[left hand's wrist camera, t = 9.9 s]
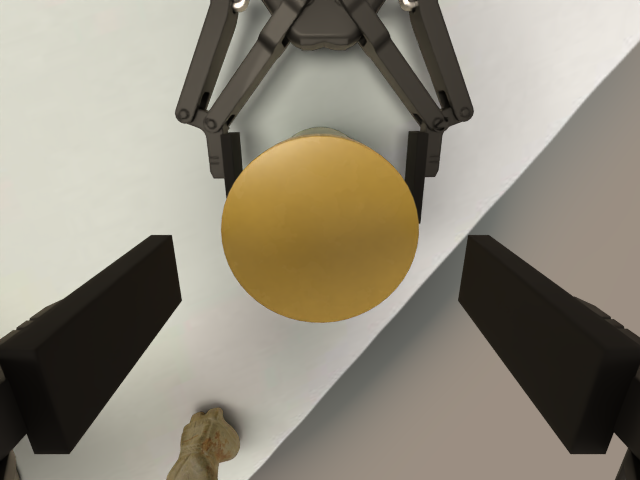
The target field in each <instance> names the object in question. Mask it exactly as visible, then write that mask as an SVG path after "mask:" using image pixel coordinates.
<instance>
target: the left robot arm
mask: <svg viewBox="0 0 640 480" xmlns="http://www.w3.org/2000/svg"><path fill="white" fill-rule="evenodd" d="M181 301H182V298H181V292H180V285H179V279H178V272H177V266H176V259H175V253H174V246H173V240H172V235H151V236H149V237H148V238H146V239H145V240H144V241H142V242H141V243H140V244H138V245H137V246H135V247H134V248H133V249H131V250H130V251H129V252H127V253H126V254H124V255H123V256H122V257H120V258H119V259H118V260H116V261H115V262H114V263H112V264H111V265H109V266H108V267H107V268H105V269H104V270H103V271H101V272H100V273H98V274H97V275H96V276H94V277H93V278H92V279H90V280H89V281H87V282H86V283H85V284H83V285H82V286H81V287H79V288H78V289H76V290H75V291H74V292H72V293H71V294H70V295H68V296H67V297H65V298H64V299H62V300H60V301H58V302H56V303H54V304H51V305H49V306H47V307H45V308H44V309H42V310H41V311H39V312H38V313H37V314H35V315H34V316H32V317H31V318H30V320H29V321H25V322H24V323H23V324H21V325H20V326H18V327H17V329H16V330H13V331H11V332H10V333H8V334H7V335H6V336H4V337H3V338H1V339H0V480H19V475H18V472H17V470H16V466H17V463H16V457H15V454H14V452H13V448H14V447H15V446H16V445H17V444H18V443H19V441H20V440H21V439H22V438H23V437H24V436H25V435H26V434H27V436H28V438H29V441H30V444H31V446H32V449H33V451H34V454H70V453H71V451H72V450H73V449H74V447H75V446H76V444H77V443H78V442H79V440H80V439H81V438H82V436H83V435H84V434H85V432H86V431H87V429H88V428H89V427H90V425H91V424H92V423H93V421H94V420H95V419H96V417H97V416H98V414H99V413H100V412H101V410H102V409H103V408H104V406H105V405H106V404H107V402H108V401H109V399H110V398H111V397H112V395H113V394H114V393H115V391H116V390H117V389H118V387H119V386H120V384H121V383H122V382H123V380H124V379H125V378H126V376H127V375H128V373H129V372H130V371H131V369H132V368H133V367H134V365H135V364H136V363H137V361H138V360H139V358H140V357H141V356H142V354H143V353H144V352H145V350H146V349H147V348H148V346H149V345H150V343H151V342H152V341H153V339H154V338H155V337H156V335H157V334H158V333H159V331H160V330H161V328H162V327H163V326H164V324H165V323H166V322H167V320H168V319H169V318H170V316H171V315H172V313H173V312H174V311H175V309H176V308H177V307H178V305H179V304H180V303H181ZM458 301H459V302H460V304H461V305H462V307H463V308H464V309H465V311H466V312H467V313H468V315H469V316H470V318H471V319H472V320H473V322H474V323H475V324H476V326H477V327H478V328H479V330H480V331H481V333H482V334H483V335H484V337H485V338H486V339H487V341H488V342H489V343H490V345H491V346H492V347H493V349H494V350H495V352H496V353H497V354H498V356H499V357H500V358H501V360H502V361H503V363H504V364H505V365H506V367H507V368H508V369H509V371H510V372H511V373H512V375H513V376H514V378H515V379H516V380H517V382H518V383H519V384H520V386H521V387H522V389H523V390H524V391H525V393H526V394H527V395H528V397H529V398H530V399H531V401H532V402H533V404H534V405H535V406H536V408H537V409H538V410H539V412H540V413H541V414H542V416H543V417H544V419H545V420H546V421H547V423H548V424H549V425H550V427H551V428H552V429H553V431H554V432H555V433H556V435H557V436H558V438H559V439H560V440H561V442H562V443H563V444H564V446H565V447H566V449H567V450H568V451H569V453H570V454H606V451H607V449H608V446H609V443H610V441H611V438H612V436H613V433H615V434H616V435H617V436H618V437H619V438H620V439H621V440H622V442H623V443H624V444H625V445H626V446H627V447H628V450H627V452H626V454H625V457H624V459H623V462H622V464H621V467H620V469H619V471H618V474H617V476H616V479H615V480H640V337H638V336H637V335H636V334H634V333H633V332H631V331H630V330H628V329H624V326H623V325H621V324H620V323H618V322H617V321H616V320H614V319H611V317H610V316H609V315H607V314H606V313H604V312H603V311H601V310H600V309H599V308H597V307H596V306H594V305H592V304H590V303H587V302H585V301H583V300H581V299H579V298H577V297H573V296H572V295H570V294H569V293H568V292H566V291H565V290H564V289H562V288H561V287H559V286H558V285H557V284H555V283H554V282H553V281H551V280H550V279H548V278H547V277H546V276H544V275H543V274H542V273H540V272H539V271H537V270H536V269H535V268H533V267H532V266H531V265H529V264H528V263H526V262H525V261H524V260H522V259H521V258H520V257H518V256H517V255H515V254H514V253H513V252H511V251H510V250H509V249H507V248H506V247H504V246H503V245H502V244H500V243H499V242H498V241H496V240H495V239H493V238H492V237H491V236H489V235H468V240H467V246H466V253H465V259H464V266H463V272H462V279H461V285H460V292H459V298H458Z"/></svg>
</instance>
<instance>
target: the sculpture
mask: <svg viewBox="0 0 640 480" xmlns="http://www.w3.org/2000/svg"><path fill="white" fill-rule="evenodd" d="M180 446H181V451H180V454H179V458H178V460H177V462H176V463H175V465H174V466H173V468H172V469H171V470H170V472H169V474H168V476H167V479H166V480H218V478H217V477H218V466H219V463H221V462H225V461H228V460H231V459H233V458H234V457H235V456H236V455H237V453H238V451H239V448H240V440H239V437H238V435H237V433H236V431H235V430H234V429H233V427H232V426H231V425H229V424H228V423H227V422H226V421H225V420H224V418H223V411H222V409H221V408H219V407H218V408H213V409H210V410H209V411H208V412H207V413H206V414H205V413H204V412H198V413H196V414H194V415H193V416H192V418H191V421H190V423H189V424H187V425H186V426H185V427H184V429H183V433H182V436H181V444H180Z"/></svg>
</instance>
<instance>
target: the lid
mask: <svg viewBox="0 0 640 480" xmlns="http://www.w3.org/2000/svg"><path fill="white" fill-rule="evenodd" d="M221 234H222V244H223V248H224V253H225V256H226V259H227V262H228V264H229V266H230V268H231V270H232V272H233V274H234V276H235V277H236V279H237V280H238V282H239V283H240V285H241V286H242V287H243V288H244V289H245V290H246V291H247V293H248V294H249V295H251V296H252V297H253V298H254V299H255V300H256V301H257V302H259V303H260V304H262V305H263V306H265V307H266V308H268V309H270V310H272V311H274V312H276V313H277V314H280V315H283V316H285V317H288V318H291V319H295V320H299V321H306V322H320V323H324V322H335V321H340V320H345V319H349V318H352V317H355V316H358V315H360V314H362V313H364V312H367V311H369V310H370V309H372V308H374V307H375V306H377V305H378V304H380V303H381V302H382V301H384V300H385V299H386V298H387V297H388V296H389V295H390V294H391V293H392V292H393V291H394V290H395V289H396V288H397V287H398V286H399V284H400V283H401V282H402V280H403V279H404V277H405V276H406V274H407V272H408V271H409V269H410V266H411V264H412V262H413V259H414V256H415V253H416V249H417V244H418V236H419V221H418V215H417V209H416V206H415V202H414V199H413V196H412V194H411V192H410V190H409V188H408V186H407V184H406V182H405V181H404V179H403V178H402V176H401V175H400V174H399V172H398V171H397V170H396V169H395V168H394V167H393V166H392V165H391V164H390V163H389V162H388V161H387V160H386V159H385V158H383V157H382V156H381V155H380V154H378V153H377V152H375V151H374V150H372V149H371V148H369V147H368V146H366V145H364V144H362V143H360V142H358V141H356V140H353V139H350V138H347V137H343V136H339V135H333V134H307V135H301V136H297V137H293V138H290V139H287V140H285V141H282V142H280V143H278V144H276V145H274V146H273V147H271V148H269V149H267V150H266V151H265V152H263V153H262V154H261V155H259V156H258V157H257V158H255V159H254V160H253V161H252V162H251V163H250V164H249V165H248V166H247V167H246V168H245V169H244V170H243V171H242V172H241V174H240V175H239V177H238V178H237V179H236V181H235V182H234V184H233V186H232V188H231V190H230V192H229V194H228V197H227V199H226V202H225V205H224V210H223V215H222V224H221Z"/></svg>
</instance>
